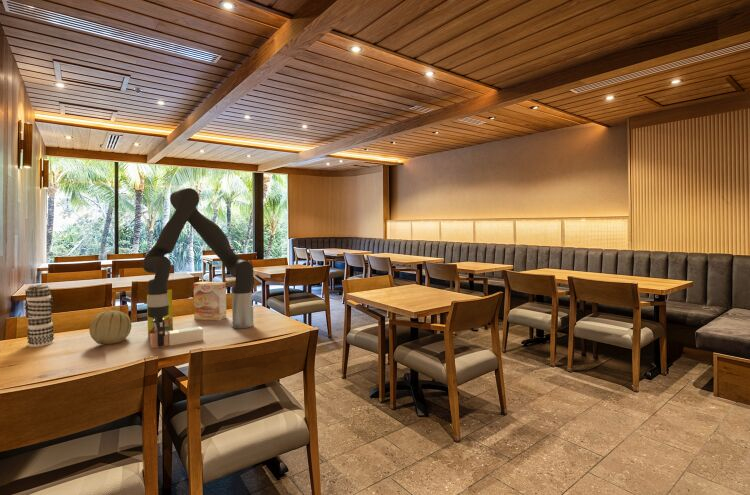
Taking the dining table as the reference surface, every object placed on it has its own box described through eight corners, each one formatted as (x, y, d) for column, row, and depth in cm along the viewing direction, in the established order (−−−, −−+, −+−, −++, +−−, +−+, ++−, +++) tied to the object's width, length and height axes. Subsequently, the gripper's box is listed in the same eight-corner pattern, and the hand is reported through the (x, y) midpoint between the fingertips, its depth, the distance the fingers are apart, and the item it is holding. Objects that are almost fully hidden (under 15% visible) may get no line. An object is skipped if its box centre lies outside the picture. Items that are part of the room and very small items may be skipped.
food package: (149, 340, 170) (147, 295, 169) (147, 339, 171) (145, 295, 169) (173, 330, 185) (172, 289, 184) (171, 330, 186) (170, 289, 184)
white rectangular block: (200, 337, 171) (200, 326, 171) (203, 340, 167) (202, 328, 167) (167, 342, 163) (167, 330, 163) (169, 345, 159) (169, 333, 159)
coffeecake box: (193, 319, 206) (192, 283, 204) (201, 316, 213) (200, 281, 211) (219, 320, 203) (218, 284, 202) (226, 317, 210) (226, 282, 209)
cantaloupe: (86, 352, 154) (85, 315, 153) (93, 341, 167) (92, 307, 166) (130, 346, 161) (129, 311, 160) (133, 337, 174) (132, 304, 173)
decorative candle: (60, 341, 167) (57, 284, 166) (35, 348, 159) (32, 287, 157) (46, 339, 170) (43, 283, 169) (21, 345, 162) (18, 286, 160)
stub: (166, 342, 163) (166, 331, 163) (168, 345, 159) (168, 333, 159) (150, 345, 160) (150, 333, 159) (152, 348, 156) (151, 336, 155)
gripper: (171, 306, 155) (172, 346, 156) (165, 300, 166) (166, 337, 167) (149, 308, 150) (151, 350, 151) (145, 302, 162) (146, 340, 163)
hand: (159, 343), depth 159 cm, fingers open, 7 cm apart
